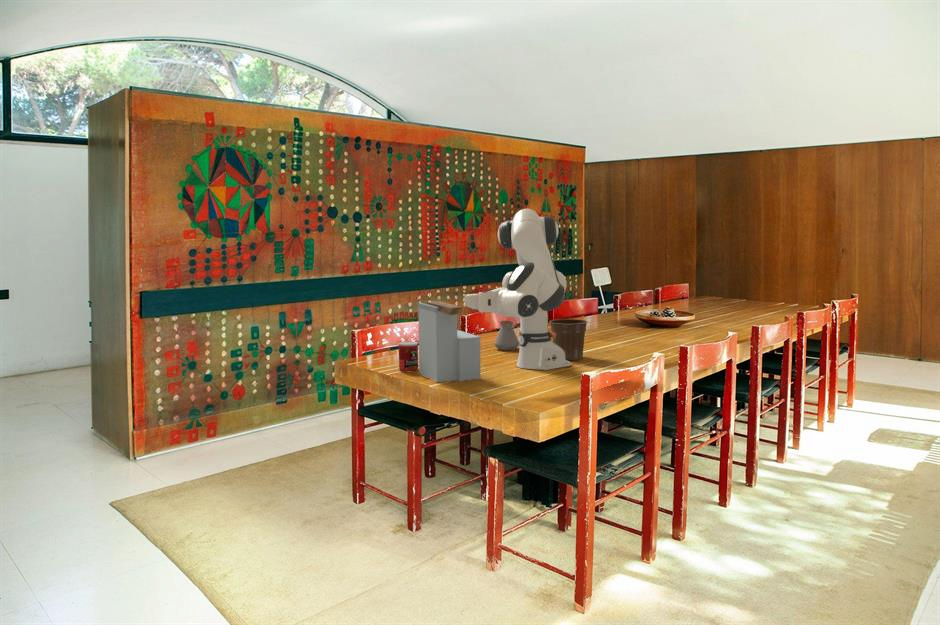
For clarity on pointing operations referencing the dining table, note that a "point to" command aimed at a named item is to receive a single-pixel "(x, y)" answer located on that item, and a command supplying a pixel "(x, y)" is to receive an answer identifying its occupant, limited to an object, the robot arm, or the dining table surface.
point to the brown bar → (446, 307)
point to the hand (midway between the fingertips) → (484, 297)
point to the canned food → (408, 356)
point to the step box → (446, 347)
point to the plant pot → (569, 336)
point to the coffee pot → (507, 336)
